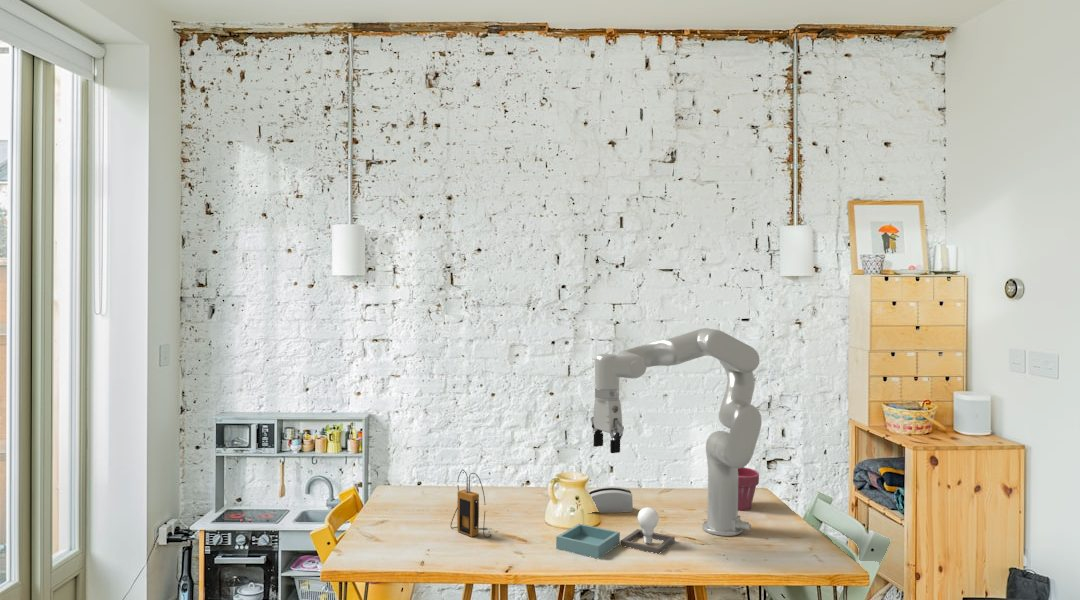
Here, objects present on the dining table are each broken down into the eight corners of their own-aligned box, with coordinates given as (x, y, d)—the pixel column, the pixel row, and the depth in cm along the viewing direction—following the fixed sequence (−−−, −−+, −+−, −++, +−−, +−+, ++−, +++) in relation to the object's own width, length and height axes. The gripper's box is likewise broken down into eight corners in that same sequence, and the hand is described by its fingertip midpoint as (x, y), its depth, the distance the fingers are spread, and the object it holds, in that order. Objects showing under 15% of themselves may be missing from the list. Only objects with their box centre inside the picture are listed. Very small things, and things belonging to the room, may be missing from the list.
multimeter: (503, 532, 224) (504, 469, 223) (480, 540, 216) (480, 475, 216) (472, 521, 234) (473, 461, 233) (449, 529, 226) (449, 466, 226)
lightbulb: (657, 548, 211) (658, 511, 211) (636, 546, 213) (636, 510, 213) (658, 540, 218) (659, 505, 217) (637, 539, 219) (638, 503, 219)
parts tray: (619, 543, 215) (619, 532, 215) (598, 558, 203) (598, 546, 203) (579, 534, 222) (579, 523, 222) (556, 548, 210) (556, 536, 210)
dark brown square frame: (674, 541, 217) (674, 536, 217) (658, 554, 207) (658, 549, 207) (637, 533, 224) (637, 529, 224) (620, 545, 213) (620, 540, 213)
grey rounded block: (630, 507, 251) (632, 483, 247) (633, 515, 247) (635, 491, 243) (583, 508, 249) (585, 484, 246) (585, 516, 245) (587, 492, 241)
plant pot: (766, 511, 247) (766, 475, 247) (729, 514, 244) (730, 477, 244) (745, 499, 261) (745, 465, 261) (710, 501, 258) (710, 466, 258)
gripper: (632, 397, 213) (632, 454, 213) (602, 389, 228) (602, 442, 229) (611, 399, 210) (611, 456, 210) (582, 391, 225) (582, 444, 225)
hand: (606, 449), depth 219 cm, fingers open, 9 cm apart
